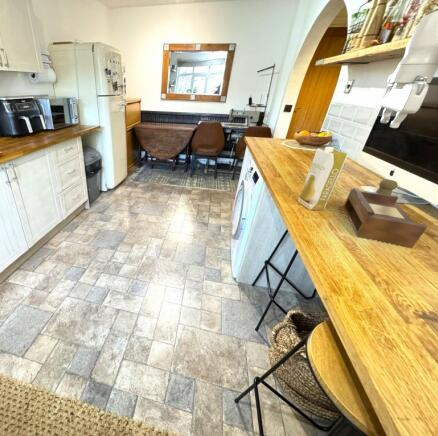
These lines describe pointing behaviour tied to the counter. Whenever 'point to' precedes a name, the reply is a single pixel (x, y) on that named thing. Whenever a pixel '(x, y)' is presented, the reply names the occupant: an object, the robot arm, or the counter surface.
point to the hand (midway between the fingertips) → (388, 125)
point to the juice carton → (322, 178)
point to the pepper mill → (386, 186)
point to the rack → (381, 218)
